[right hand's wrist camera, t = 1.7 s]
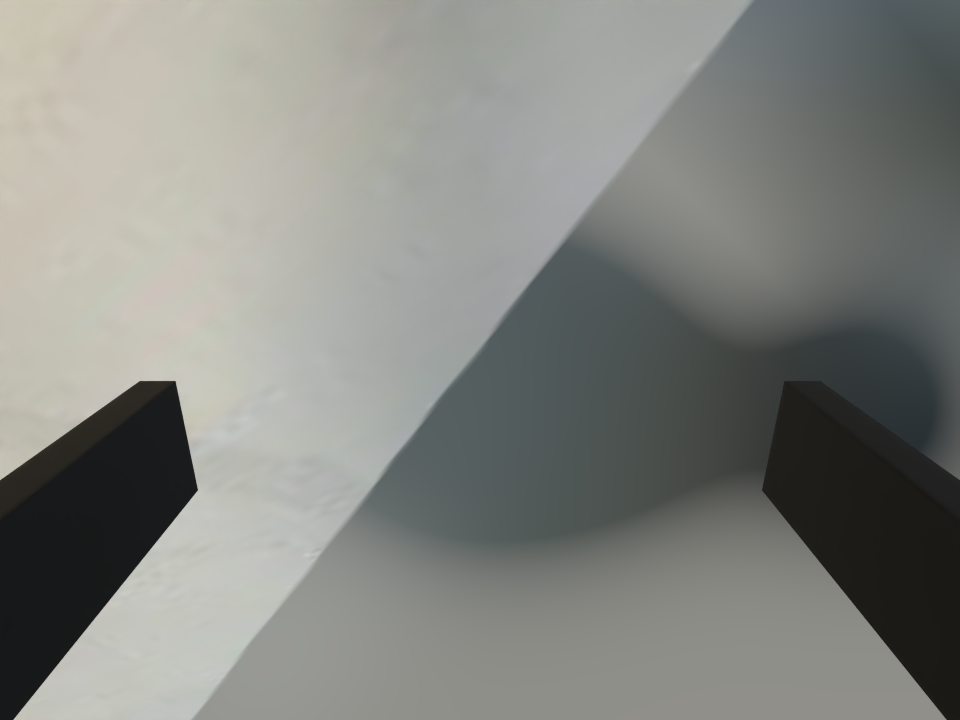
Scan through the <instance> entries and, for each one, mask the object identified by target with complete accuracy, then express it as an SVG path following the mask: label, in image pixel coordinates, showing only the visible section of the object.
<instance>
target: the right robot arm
mask: <svg viewBox="0 0 960 720" xmlns="http://www.w3.org/2000/svg"><path fill="white" fill-rule="evenodd" d="M197 491H198V488H197V484H196V479H195V474H194V469H193V464H192V459H191V454H190V450H189V445H188V440H187V435H186V430H185V425H184V420H183V415H182V411H181V406H180V401H179V396H178V391H177V386H176V381H139V382H138V383H137V384H135V385H134V386H132V387H131V388H130V389H128V390H127V391H125V392H124V393H122V394H121V395H120V396H118V397H117V398H115V399H114V400H113V401H111V402H110V403H108V404H107V405H106V406H104V407H103V408H101V409H100V410H99V411H97V412H96V413H94V414H93V415H92V416H90V417H89V418H87V419H86V420H84V421H83V422H82V423H80V424H79V425H77V426H76V427H75V428H73V429H72V430H70V431H69V432H68V433H66V434H65V435H63V436H62V437H61V438H59V439H58V440H56V441H55V442H54V443H52V444H51V445H49V446H48V447H46V448H45V449H44V450H42V451H41V452H39V453H38V454H37V455H35V456H34V457H32V458H31V459H30V460H28V461H27V462H25V463H24V464H23V465H21V466H20V467H18V468H17V469H15V470H14V471H13V472H11V473H10V474H8V475H7V476H6V477H4V478H3V479H1V480H0V720H13V719H14V718H15V717H16V716H17V714H18V713H19V712H20V711H21V709H22V708H23V707H24V706H25V705H26V703H27V702H28V701H29V700H30V698H31V697H32V696H33V695H34V693H35V692H36V691H37V690H38V688H39V687H40V686H41V685H42V683H43V682H44V681H45V680H46V678H47V677H48V676H49V675H50V673H51V672H52V671H53V670H54V668H55V667H56V666H57V665H58V663H59V662H60V661H61V660H62V659H63V657H64V656H65V655H66V654H67V652H68V651H69V650H70V649H71V647H72V646H73V645H74V644H75V642H76V641H77V640H78V639H79V637H80V636H81V635H82V634H83V632H84V631H85V630H86V629H87V627H88V626H89V625H90V624H91V622H92V621H93V620H94V619H95V618H96V616H97V615H98V614H99V613H100V611H101V610H102V609H103V608H104V606H105V605H106V604H107V603H108V601H109V600H110V599H111V598H112V596H113V595H114V594H115V593H116V591H117V590H118V589H119V588H120V586H121V585H122V584H123V583H124V581H125V580H126V579H127V578H128V576H129V575H130V574H131V573H132V572H133V570H134V569H135V568H136V567H137V565H138V564H139V563H140V562H141V560H142V559H143V558H144V557H145V555H146V554H147V553H148V552H149V550H150V549H151V548H152V547H153V545H154V544H155V543H156V542H157V540H158V539H159V538H160V537H161V535H162V534H163V533H164V532H165V531H166V529H167V528H168V527H169V526H170V524H171V523H172V522H173V521H174V519H175V518H176V517H177V516H178V514H179V513H180V512H181V511H182V509H183V508H184V507H185V506H186V504H187V503H188V502H189V501H190V499H191V498H192V497H193V496H194V494H195V493H196V492H197ZM762 491H763V492H764V493H765V494H766V496H767V497H768V498H769V499H770V501H771V502H772V503H773V504H774V506H775V507H776V508H777V509H778V511H779V512H780V513H781V514H782V516H783V517H784V518H785V519H786V520H787V522H788V523H789V524H790V526H791V527H792V528H793V529H794V531H795V532H796V533H797V534H798V535H799V537H800V538H801V539H802V540H803V542H804V543H805V544H806V545H807V547H808V548H809V549H810V550H811V552H812V553H813V554H814V555H815V556H816V558H817V559H818V560H819V562H820V563H821V564H822V565H823V567H824V568H825V569H826V570H827V572H828V573H829V574H830V575H831V576H832V578H833V579H834V580H835V581H836V583H837V584H838V585H839V586H840V588H841V589H842V590H843V591H844V593H845V594H846V595H847V596H848V598H849V599H850V600H851V601H852V603H853V604H854V605H855V606H856V608H857V609H858V610H859V611H860V612H861V614H862V615H863V616H864V618H865V619H866V620H867V621H868V622H869V624H870V625H871V626H872V627H873V629H874V630H875V631H876V632H877V634H878V635H879V636H880V637H881V639H882V640H883V641H884V642H885V644H886V645H887V646H888V647H889V649H890V650H891V651H892V652H893V654H894V655H895V656H896V657H897V659H898V660H899V661H900V662H901V663H902V665H903V666H904V667H905V668H906V670H907V671H908V672H909V673H910V675H911V676H912V677H913V678H914V680H915V681H916V682H917V683H918V685H919V686H920V687H921V688H922V690H923V691H924V692H925V693H926V695H927V696H928V697H929V698H930V699H931V701H932V702H933V703H934V705H935V706H936V707H937V708H938V709H939V711H940V712H941V713H942V714H943V716H944V717H945V718H946V719H947V720H960V480H959V479H957V478H956V477H954V476H953V475H952V474H950V473H949V472H947V471H946V470H945V469H943V468H942V467H940V466H939V465H937V464H936V463H935V462H933V461H932V460H930V459H929V458H928V457H926V456H925V455H923V454H922V453H921V452H919V451H918V450H916V449H915V448H914V447H912V446H911V445H909V444H908V443H906V442H905V441H904V440H902V439H901V438H899V437H898V436H897V435H895V434H894V433H892V432H891V431H890V430H888V429H887V428H885V427H884V426H883V425H881V424H880V423H878V422H877V421H876V420H874V419H873V418H871V417H870V416H868V415H867V414H866V413H864V412H863V411H861V410H860V409H859V408H857V407H856V406H854V405H853V404H852V403H850V402H849V401H847V400H846V399H845V398H843V397H842V396H840V395H839V394H838V393H836V392H835V391H833V390H832V389H830V388H829V387H828V386H826V385H825V384H823V383H822V382H821V381H785V382H784V386H783V391H782V396H781V401H780V406H779V411H778V415H777V420H776V425H775V430H774V435H773V440H772V445H771V450H770V455H769V459H768V464H767V469H766V474H765V479H764V484H763V489H762Z"/></svg>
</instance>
